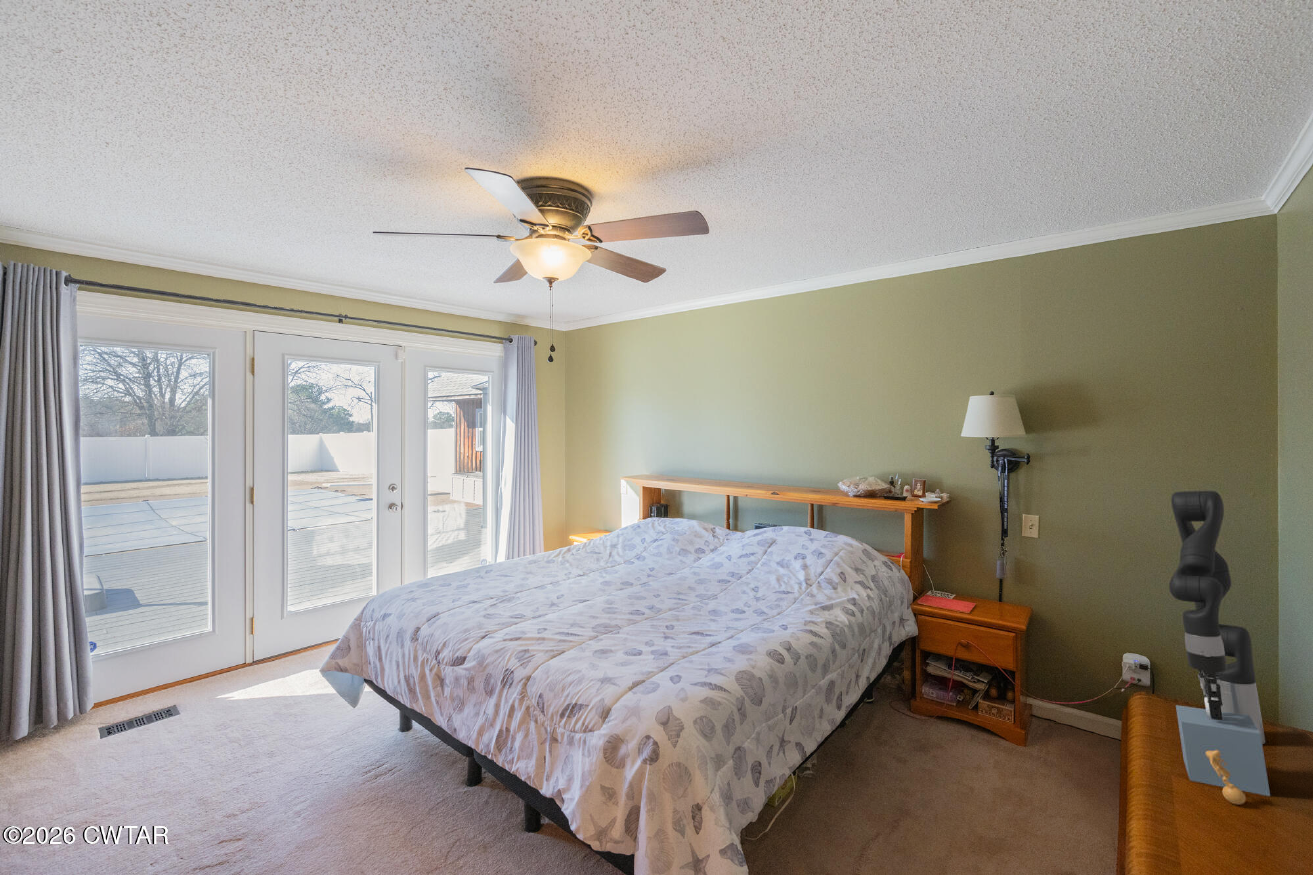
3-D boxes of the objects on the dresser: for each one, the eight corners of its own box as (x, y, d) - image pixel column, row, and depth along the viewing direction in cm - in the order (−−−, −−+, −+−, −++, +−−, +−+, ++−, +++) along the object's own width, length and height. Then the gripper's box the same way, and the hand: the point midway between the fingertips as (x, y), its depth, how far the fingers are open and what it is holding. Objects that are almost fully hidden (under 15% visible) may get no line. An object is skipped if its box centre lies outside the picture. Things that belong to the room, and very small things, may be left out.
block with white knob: (1183, 759, 157) (1173, 687, 159) (1258, 773, 148) (1246, 696, 150) (1189, 780, 147) (1178, 702, 149) (1270, 796, 138) (1257, 713, 140)
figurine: (1244, 813, 132) (1236, 761, 133) (1209, 803, 137) (1201, 752, 138) (1249, 799, 137) (1241, 749, 138) (1215, 790, 142) (1207, 741, 143)
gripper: (1182, 641, 158) (1191, 703, 157) (1189, 656, 147) (1199, 722, 146) (1219, 645, 154) (1229, 708, 152) (1229, 660, 142) (1240, 728, 141)
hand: (1214, 714), depth 149 cm, fingers open, 5 cm apart
